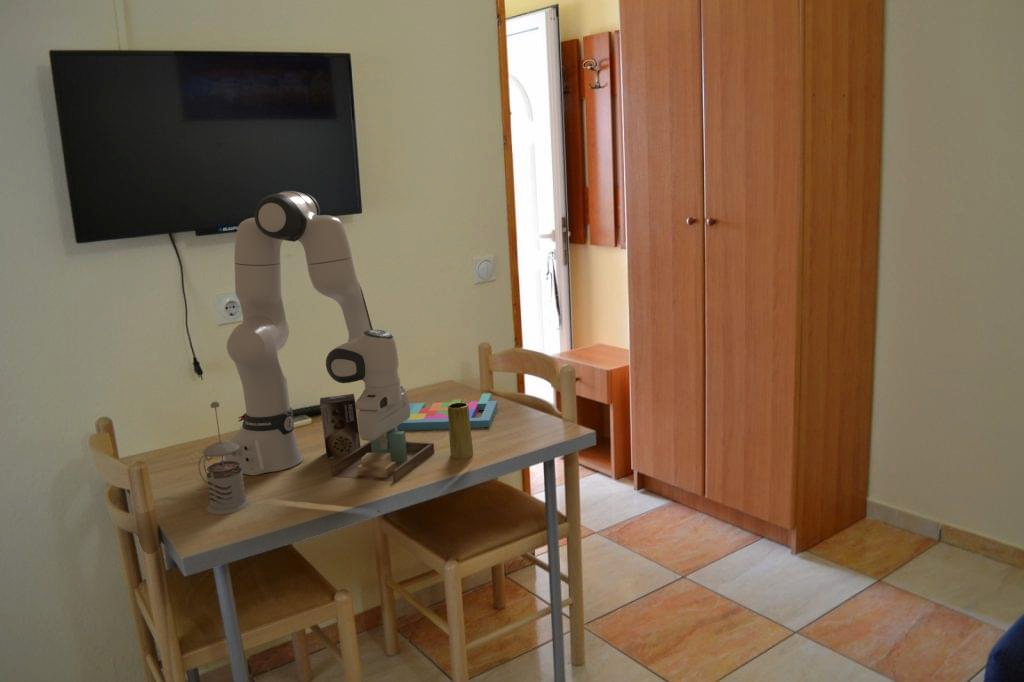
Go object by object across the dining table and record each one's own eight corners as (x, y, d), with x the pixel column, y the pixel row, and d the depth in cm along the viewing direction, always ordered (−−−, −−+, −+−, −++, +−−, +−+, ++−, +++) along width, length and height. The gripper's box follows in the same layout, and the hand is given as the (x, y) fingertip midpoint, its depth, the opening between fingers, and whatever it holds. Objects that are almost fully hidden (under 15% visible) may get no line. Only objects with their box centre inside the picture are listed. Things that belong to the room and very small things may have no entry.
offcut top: (362, 466, 211) (361, 458, 210) (368, 461, 214) (367, 452, 214) (385, 467, 209) (384, 458, 209) (391, 461, 213) (390, 453, 212)
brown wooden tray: (331, 479, 212) (329, 466, 211) (374, 451, 231) (373, 438, 230) (396, 485, 206) (394, 471, 205) (434, 455, 225) (433, 443, 224)
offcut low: (358, 475, 211) (357, 466, 211) (368, 467, 216) (367, 459, 215) (386, 477, 208) (385, 469, 208) (396, 470, 213) (395, 461, 213)
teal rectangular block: (372, 459, 222) (369, 431, 220) (376, 457, 223) (373, 429, 222) (403, 462, 218) (401, 433, 217) (407, 459, 220) (404, 431, 219)
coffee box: (360, 451, 232) (354, 393, 229) (361, 458, 226) (355, 399, 223) (326, 455, 231) (319, 397, 227) (326, 463, 224) (319, 403, 221)
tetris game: (489, 429, 245) (500, 401, 273) (489, 420, 245) (500, 393, 272) (393, 432, 248) (413, 404, 276) (392, 423, 248) (412, 395, 275)
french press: (231, 516, 194) (216, 409, 188) (191, 510, 198) (175, 406, 193) (259, 499, 202) (246, 396, 197) (221, 494, 207) (207, 394, 202)
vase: (452, 464, 218) (447, 409, 215) (448, 456, 224) (444, 403, 221) (476, 460, 219) (471, 406, 216) (471, 453, 225) (467, 400, 222)
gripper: (392, 382, 228) (397, 432, 231) (351, 404, 209) (357, 459, 212) (413, 383, 226) (418, 434, 228) (374, 406, 207) (379, 460, 210)
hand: (388, 446), depth 220 cm, fingers closed on teal rectangular block, 2 cm apart
